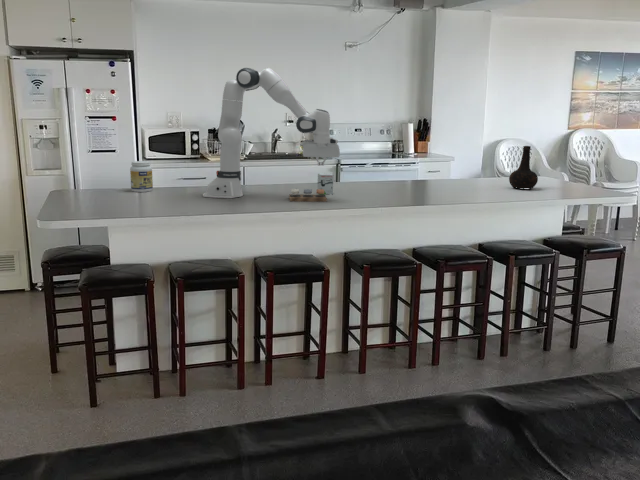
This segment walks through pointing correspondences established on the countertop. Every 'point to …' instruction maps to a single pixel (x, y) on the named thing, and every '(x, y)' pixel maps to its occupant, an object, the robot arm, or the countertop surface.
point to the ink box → (325, 182)
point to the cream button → (295, 191)
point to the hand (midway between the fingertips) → (320, 165)
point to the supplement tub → (141, 176)
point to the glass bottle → (524, 172)
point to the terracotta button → (320, 191)
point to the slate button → (307, 191)
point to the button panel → (307, 198)
